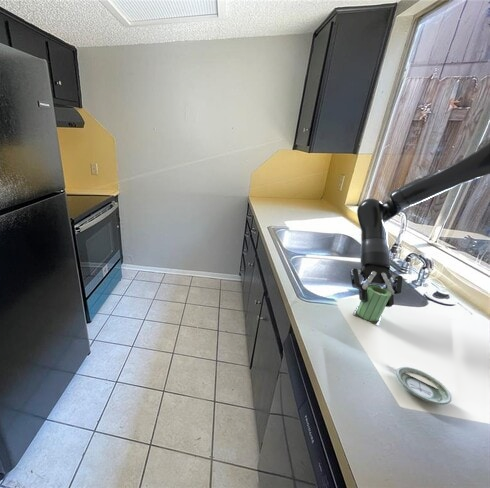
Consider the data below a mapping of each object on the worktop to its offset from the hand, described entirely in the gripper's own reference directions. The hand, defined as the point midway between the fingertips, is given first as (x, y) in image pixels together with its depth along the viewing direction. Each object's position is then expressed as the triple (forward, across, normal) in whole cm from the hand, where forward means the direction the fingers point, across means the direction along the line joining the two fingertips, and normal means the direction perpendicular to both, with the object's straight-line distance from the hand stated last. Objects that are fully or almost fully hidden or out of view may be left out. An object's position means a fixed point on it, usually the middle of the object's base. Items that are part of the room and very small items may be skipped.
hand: (376, 304), depth 80 cm
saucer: (+22, +2, -12) cm, 26 cm away
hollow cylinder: (+3, 0, +5) cm, 6 cm away
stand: (+4, 0, +6) cm, 8 cm away
